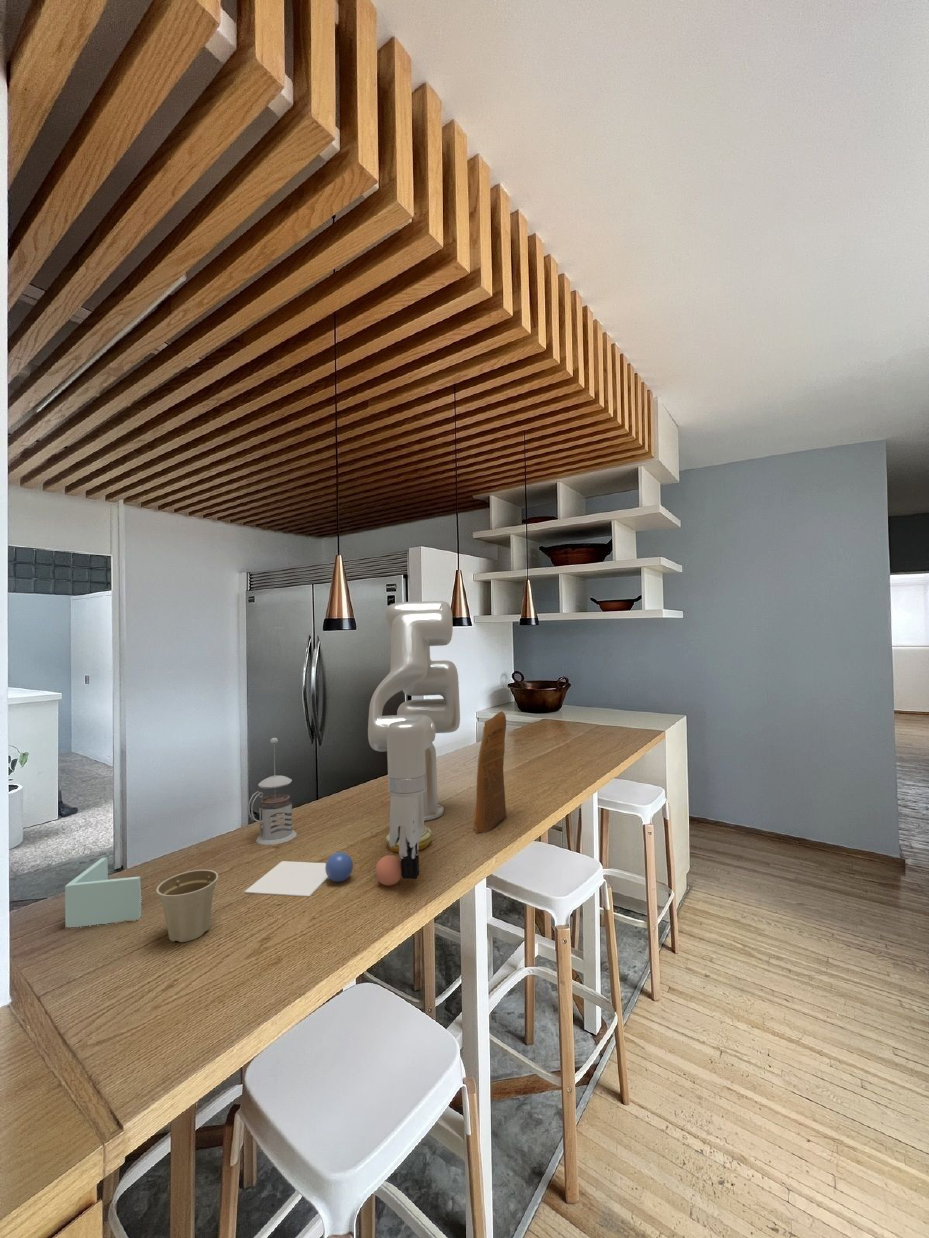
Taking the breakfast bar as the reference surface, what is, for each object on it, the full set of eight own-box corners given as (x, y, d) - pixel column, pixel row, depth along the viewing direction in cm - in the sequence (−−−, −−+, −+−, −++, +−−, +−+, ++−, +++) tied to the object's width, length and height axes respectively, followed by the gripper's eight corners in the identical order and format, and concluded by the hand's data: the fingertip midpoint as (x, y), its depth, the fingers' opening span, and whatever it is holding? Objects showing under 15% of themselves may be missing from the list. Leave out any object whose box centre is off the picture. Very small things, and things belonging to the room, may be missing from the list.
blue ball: (333, 873, 109) (332, 847, 109) (357, 874, 108) (356, 848, 108) (320, 886, 104) (320, 858, 104) (346, 887, 103) (345, 859, 103)
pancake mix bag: (518, 812, 142) (513, 710, 143) (490, 838, 125) (485, 721, 126) (495, 809, 145) (491, 709, 146) (465, 834, 128) (460, 720, 129)
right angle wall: (138, 920, 94) (138, 878, 94) (65, 929, 92) (64, 885, 92) (166, 889, 105) (166, 851, 106) (102, 895, 104) (101, 857, 104)
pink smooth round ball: (395, 880, 107) (375, 862, 107) (411, 862, 106) (391, 844, 106) (386, 896, 101) (366, 877, 102) (404, 878, 100) (383, 858, 101)
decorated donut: (378, 846, 124) (377, 830, 124) (416, 833, 130) (415, 818, 131) (401, 859, 116) (400, 842, 116) (440, 845, 122) (439, 829, 122)
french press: (304, 835, 132) (301, 736, 133) (260, 850, 123) (257, 744, 124) (285, 826, 138) (282, 732, 139) (241, 840, 130) (239, 740, 131)
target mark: (282, 861, 116) (281, 861, 116) (340, 864, 114) (340, 863, 114) (244, 892, 102) (244, 891, 102) (309, 896, 100) (309, 895, 100)
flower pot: (176, 955, 82) (175, 900, 83) (146, 939, 87) (145, 887, 88) (230, 926, 90) (229, 876, 91) (199, 913, 95) (198, 865, 96)
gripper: (399, 773, 112) (402, 860, 111) (377, 794, 97) (380, 894, 96) (433, 773, 111) (436, 861, 110) (416, 794, 96) (420, 896, 95)
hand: (410, 876), depth 103 cm, fingers closed
